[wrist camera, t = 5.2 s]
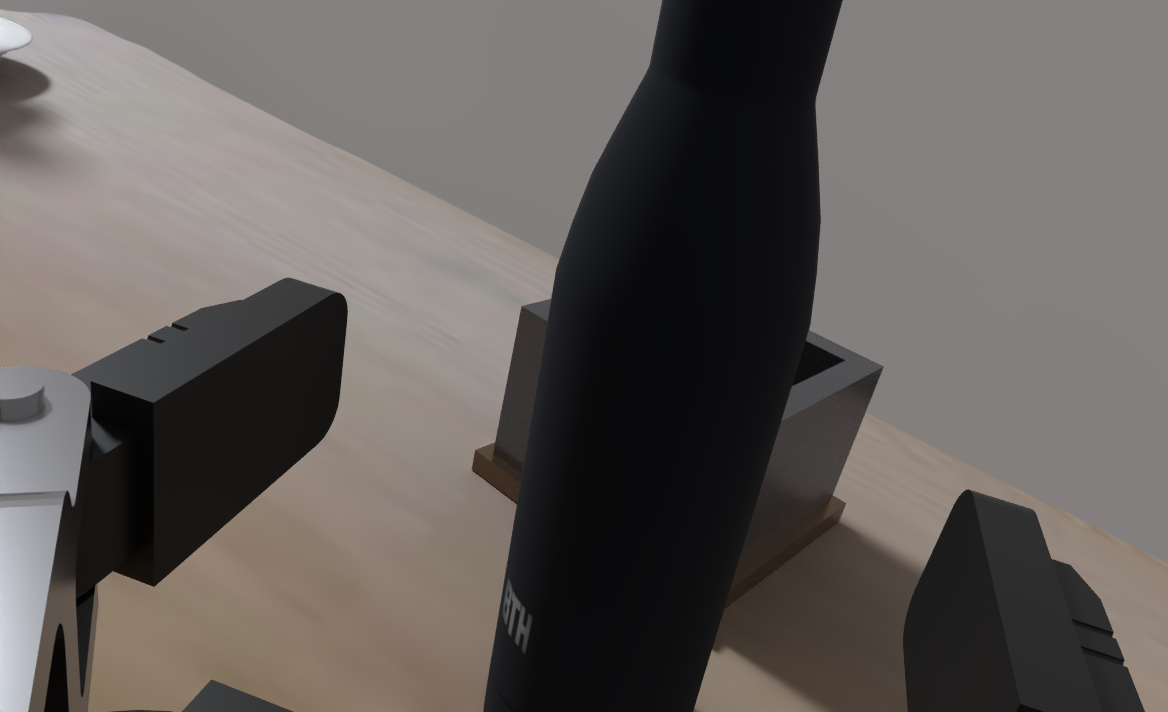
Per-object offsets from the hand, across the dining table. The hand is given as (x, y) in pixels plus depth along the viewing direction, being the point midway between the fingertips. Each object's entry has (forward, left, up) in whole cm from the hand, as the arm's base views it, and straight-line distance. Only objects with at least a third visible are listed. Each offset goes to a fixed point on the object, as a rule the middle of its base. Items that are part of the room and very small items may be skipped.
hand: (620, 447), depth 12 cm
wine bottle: (+10, +5, -17) cm, 20 cm away
